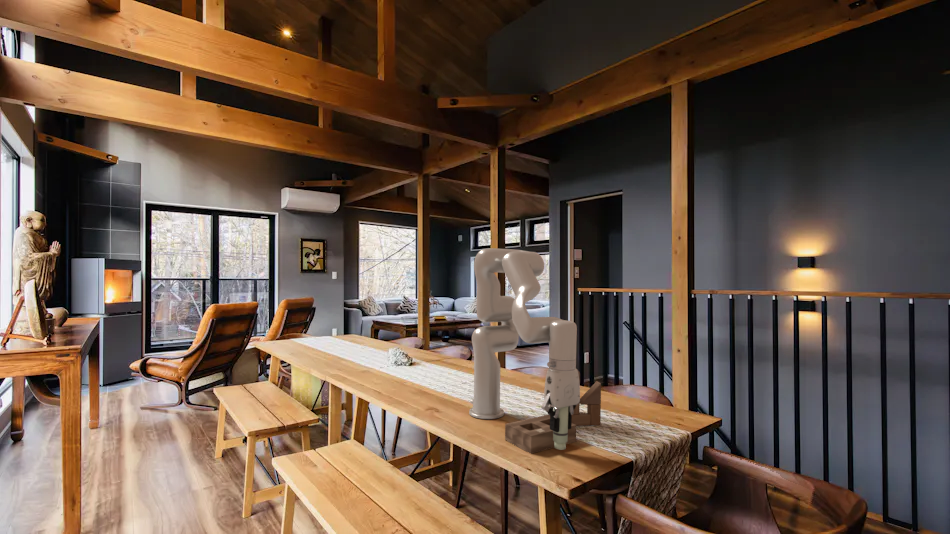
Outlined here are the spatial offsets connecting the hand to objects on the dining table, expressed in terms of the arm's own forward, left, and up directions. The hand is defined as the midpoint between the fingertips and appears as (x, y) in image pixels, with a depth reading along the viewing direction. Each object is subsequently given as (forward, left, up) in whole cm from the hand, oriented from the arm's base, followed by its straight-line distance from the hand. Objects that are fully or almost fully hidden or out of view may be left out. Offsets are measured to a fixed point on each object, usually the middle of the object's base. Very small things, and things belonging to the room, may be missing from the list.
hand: (560, 428), depth 127 cm
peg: (0, 0, -5) cm, 5 cm away
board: (-10, +2, -7) cm, 13 cm away
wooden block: (-14, +25, -7) cm, 30 cm away
